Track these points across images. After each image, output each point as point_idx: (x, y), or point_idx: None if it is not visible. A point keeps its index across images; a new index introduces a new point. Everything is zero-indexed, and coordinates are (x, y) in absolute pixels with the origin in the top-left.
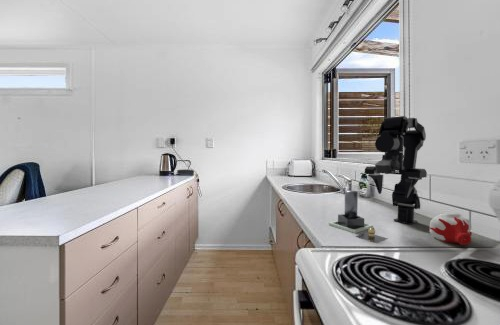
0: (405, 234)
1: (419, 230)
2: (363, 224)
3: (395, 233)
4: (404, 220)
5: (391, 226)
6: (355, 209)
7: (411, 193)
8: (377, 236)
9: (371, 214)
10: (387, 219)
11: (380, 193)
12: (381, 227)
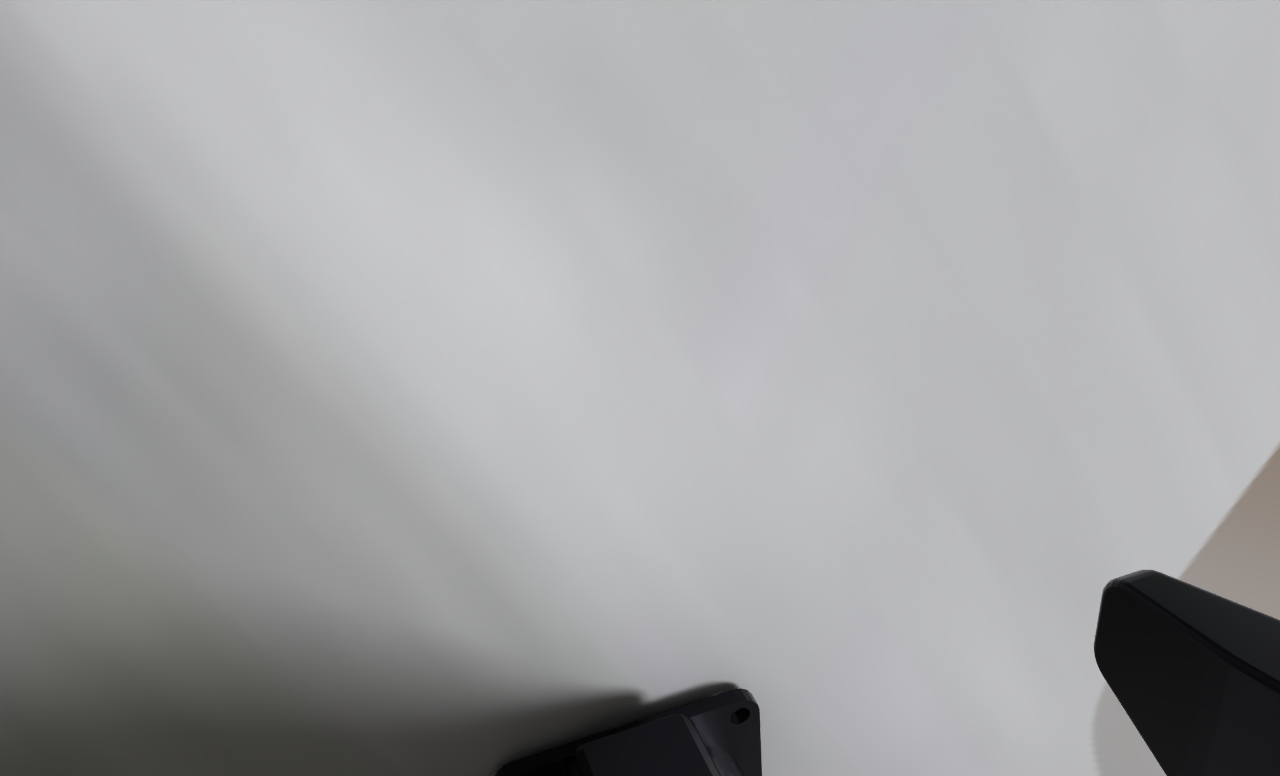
0: (128, 286)
1: (221, 686)
2: None
3: (252, 151)
4: (587, 764)
5: (584, 437)
6: None
7: None
8: None
9: None
10: (840, 658)
11: (1102, 626)
12: (635, 220)
